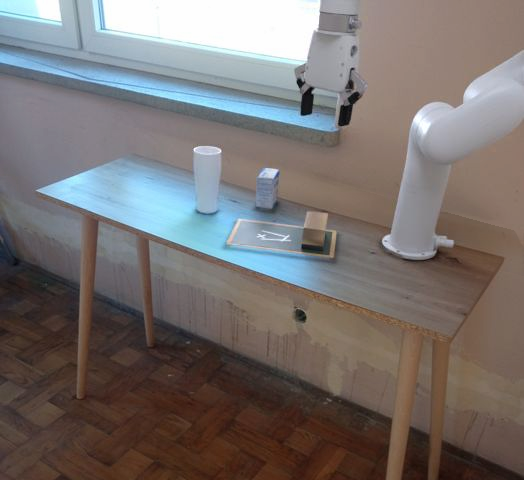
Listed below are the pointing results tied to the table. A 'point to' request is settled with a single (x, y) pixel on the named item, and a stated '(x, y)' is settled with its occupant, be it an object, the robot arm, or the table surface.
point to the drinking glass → (207, 177)
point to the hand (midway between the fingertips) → (324, 120)
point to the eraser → (314, 231)
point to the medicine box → (267, 188)
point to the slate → (277, 238)
